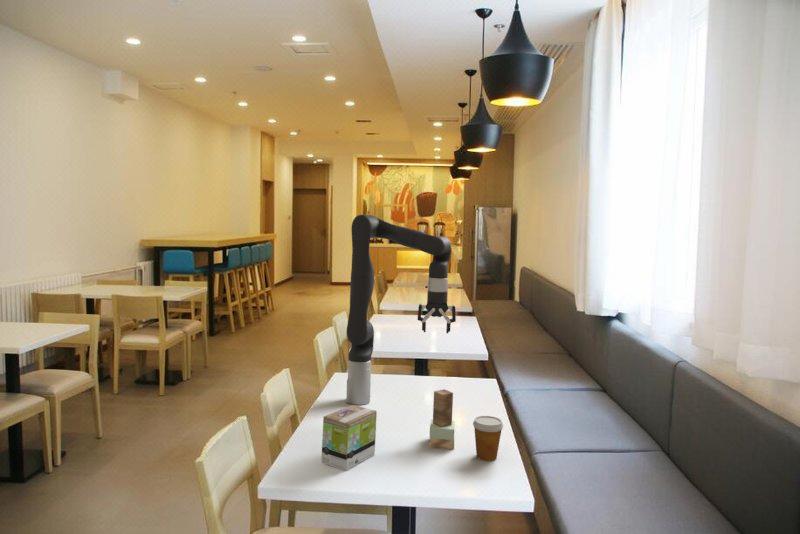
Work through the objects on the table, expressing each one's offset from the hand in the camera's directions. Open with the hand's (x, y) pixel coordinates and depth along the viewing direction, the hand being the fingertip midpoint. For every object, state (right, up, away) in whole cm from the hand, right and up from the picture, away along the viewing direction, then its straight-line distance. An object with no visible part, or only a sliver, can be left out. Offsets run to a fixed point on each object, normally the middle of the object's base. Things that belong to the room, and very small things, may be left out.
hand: (436, 332), depth 217 cm
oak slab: (0, -35, -24) cm, 42 cm away
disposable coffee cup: (+14, -36, -34) cm, 51 cm away
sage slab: (+1, -31, -24) cm, 40 cm away
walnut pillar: (+1, -28, -24) cm, 37 cm away
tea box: (-29, -35, -38) cm, 60 cm away
